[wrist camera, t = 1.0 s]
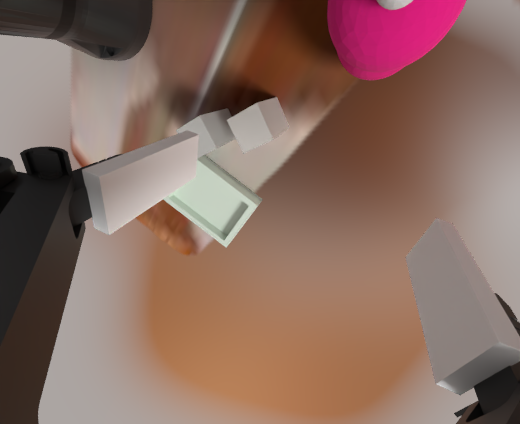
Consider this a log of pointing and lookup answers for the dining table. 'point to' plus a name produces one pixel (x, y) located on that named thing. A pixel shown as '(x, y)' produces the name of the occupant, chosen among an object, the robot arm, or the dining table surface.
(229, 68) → the dining table surface
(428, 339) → the robot arm
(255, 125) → the stone
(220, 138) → the stone
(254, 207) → the bin
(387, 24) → the pepper mill
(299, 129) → the dining table surface
